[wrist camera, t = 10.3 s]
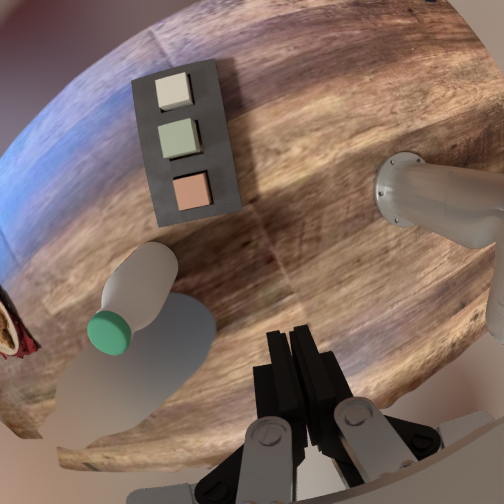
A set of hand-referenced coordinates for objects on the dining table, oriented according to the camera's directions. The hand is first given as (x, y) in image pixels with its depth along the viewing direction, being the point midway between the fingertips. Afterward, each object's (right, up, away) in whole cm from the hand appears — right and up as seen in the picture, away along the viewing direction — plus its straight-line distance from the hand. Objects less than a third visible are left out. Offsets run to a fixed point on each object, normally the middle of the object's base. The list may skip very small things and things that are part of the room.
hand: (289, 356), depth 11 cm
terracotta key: (-10, +13, +28) cm, 32 cm away
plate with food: (-67, -12, +34) cm, 76 cm away
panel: (-11, +20, +26) cm, 34 cm away
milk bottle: (-17, +2, +31) cm, 36 cm away
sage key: (-11, +19, +23) cm, 32 cm away
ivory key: (-12, +26, +23) cm, 37 cm away
